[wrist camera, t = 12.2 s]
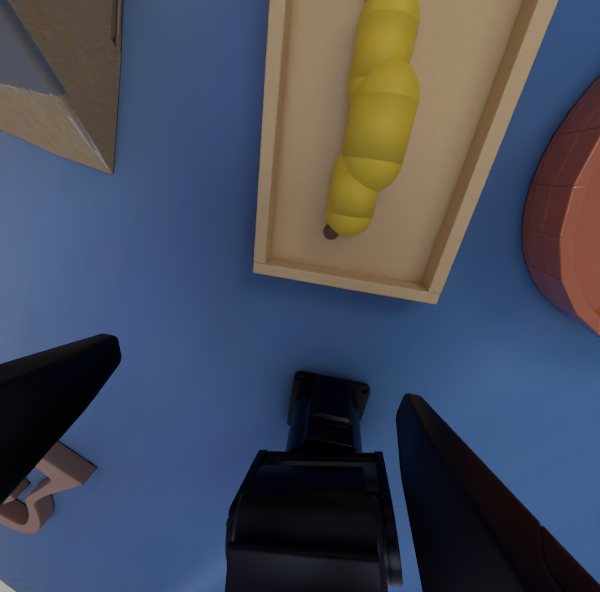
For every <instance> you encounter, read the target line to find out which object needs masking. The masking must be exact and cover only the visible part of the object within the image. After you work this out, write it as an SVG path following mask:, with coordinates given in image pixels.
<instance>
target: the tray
mask: <svg viewBox="0 0 600 592" xmlns="http://www.w3.org/2000/svg"><path fill="white" fill-rule="evenodd" d="M365 2H366V1H365V0H269V13H268V30H267V47H266V63H265V80H264V97H263V113H262V130H261V147H260V164H259V180H258V197H257V214H256V230H255V247H254V264H253V273H257V274H263V275H269V276H275V277H280V278H286V279H292V280H297V281H303V282H309V283H315V284H320V285H326V286H332V287H338V288H343V289H349V290H355V291H360V292H366V293H372V294H378V295H383V296H389V297H395V298H401V299H406V300H412V301H418V302H424V303H429V304H437V301H438V299H439V296H440V294H441V292H442V289H443V287H444V284H445V282H446V279H447V277H448V274H449V272H450V269H451V267H452V264H453V262H454V259H455V257H456V254H457V252H458V249H459V247H460V244H461V242H462V239H463V237H464V234H465V232H466V229H467V227H468V224H469V222H470V219H471V217H472V214H473V212H474V210H475V207H476V205H477V202H478V200H479V197H480V195H481V192H482V190H483V187H484V185H485V182H486V180H487V177H488V175H489V172H490V170H491V167H492V165H493V162H494V160H495V157H496V155H497V152H498V150H499V147H500V145H501V142H502V140H503V137H504V135H505V132H506V130H507V127H508V125H509V122H510V120H511V117H512V115H513V112H514V110H515V107H516V105H517V102H518V100H519V97H520V95H521V92H522V90H523V87H524V85H525V82H526V80H527V77H528V75H529V72H530V70H531V67H532V65H533V62H534V60H535V57H536V55H537V52H538V50H539V47H540V45H541V42H542V40H543V37H544V35H545V32H546V30H547V27H548V25H549V22H550V20H551V17H552V15H553V12H554V10H555V8H556V5H557V3H558V0H419V3H420V24H419V29H418V33H417V37H416V41H415V45H414V49H413V54H412V58H411V62H410V65H411V66H412V68H413V69H414V70H415V72H416V74H417V76H418V79H419V84H420V99H419V104H418V108H417V112H416V115H415V119H414V123H413V127H412V130H411V134H410V138H409V141H408V145H407V149H406V153H405V156H404V160H403V164H402V167H401V170H400V172H399V174H398V176H397V177H396V179H395V180H394V181H393V182H392V183H391V184H390V185H389V186H388V187H387V188H385V189H383V190H381V191H379V193H378V197H377V201H376V205H375V210H374V214H373V218H372V220H371V223H370V225H369V226H368V227H367V229H366V230H365V231H363V232H362V233H361V234H359V235H356V236H353V237H344V236H341V235H339V236H338V237H337V238H336V239H334V240H328V239H327V238H325V236H324V235H323V229H324V227H325V226H326V225H327V224H328V222H327V218H326V209H327V203H328V197H329V191H330V186H331V180H332V174H333V168H334V164H335V162H336V159H337V158H338V156H339V155H340V153H341V152H342V148H343V142H344V137H345V131H346V125H347V120H348V114H349V108H350V103H349V100H348V94H347V86H348V79H349V73H350V67H351V61H352V55H353V49H354V43H355V37H356V31H357V25H358V20H359V16H360V13H361V10H362V8H363V5H364V3H365Z"/></svg>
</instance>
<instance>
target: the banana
mask: <svg viewBox="0 0 600 592" xmlns="http://www.w3.org/2000/svg"><path fill="white" fill-rule="evenodd" d="M365 1H366V2H365V3H364V5H363V8H362V10H361V13H360V16H359V20H358V25H357V31H356V37H355V43H354V49H353V55H352V61H351V67H350V73H349V79H348V86H347V94H348V100H349V103H350V108H349V114H348V120H347V125H346V131H345V137H344V142H343V148H342V152H341V153H340V155H339V156H338V158H337V159H336V162H335V164H334V168H333V174H332V180H331V186H330V191H329V197H328V203H327V209H326V218H327V222H328V224H327V225H326V226H325V227H324V229H323V235H324V236H325V238H327V239H328V240H334V239H336V238H337V237H338V236H339V235H341V236H344V237H353V236H356V235H359V234H361V233H362V232H363V231H365V230H366V229H367V227H368V226H369V225H370V223H371V220H372V218H373V214H374V210H375V205H376V201H377V197H378V193H379V191H381V190H383V189H385V188H387V187H388V186H389V185H390V184H391V183H392V182H393V181H394V180H395V179H396V177H397V176H398V174H399V172H400V170H401V167H402V164H403V160H404V156H405V153H406V149H407V145H408V141H409V138H410V134H411V130H412V127H413V123H414V119H415V115H416V112H417V108H418V104H419V99H420V84H419V79H418V76H417V74H416V72H415V70H414V69H413V68H412V66H411V65H410V62H411V58H412V54H413V49H414V45H415V41H416V37H417V33H418V29H419V24H420V3H419V0H365Z"/></svg>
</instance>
